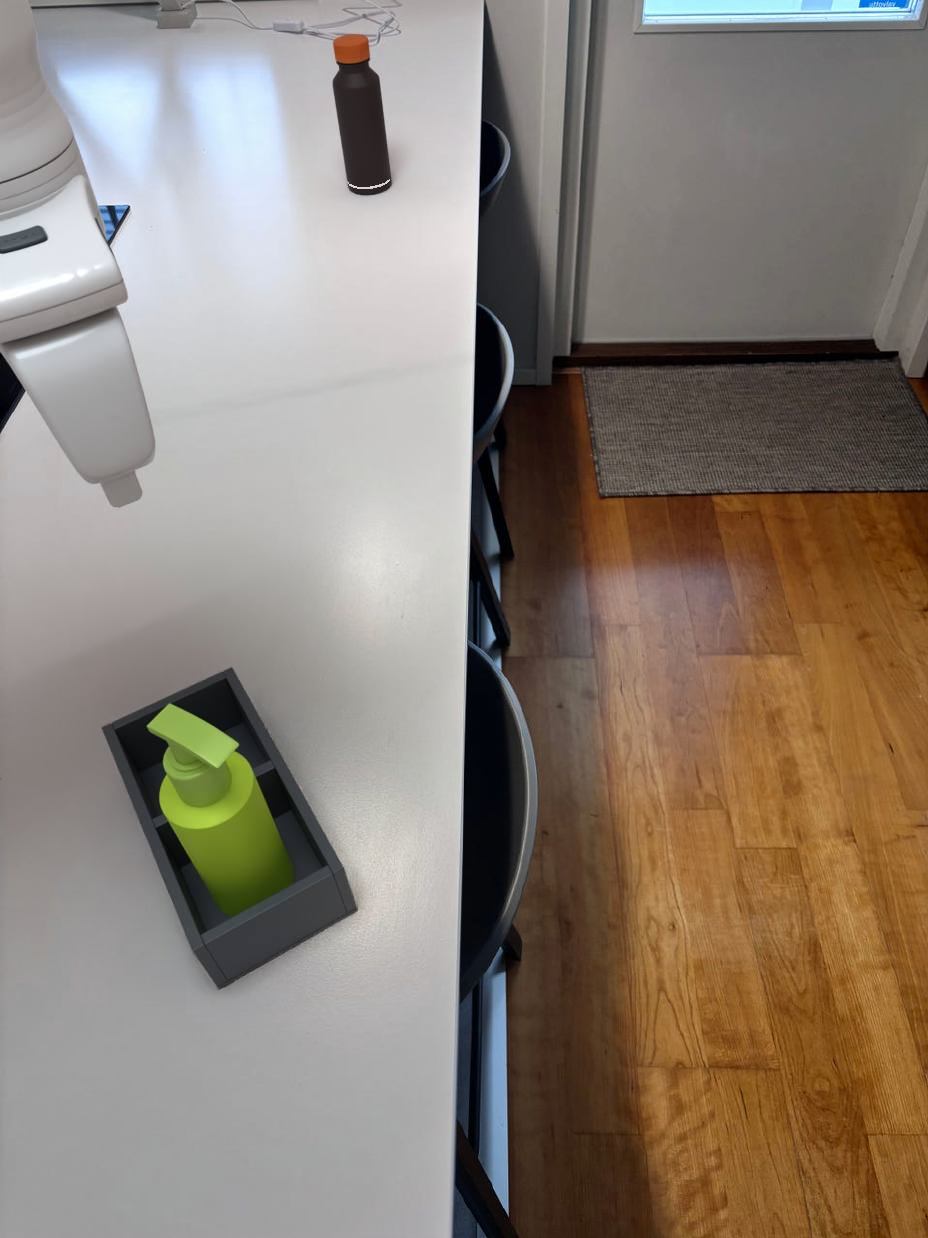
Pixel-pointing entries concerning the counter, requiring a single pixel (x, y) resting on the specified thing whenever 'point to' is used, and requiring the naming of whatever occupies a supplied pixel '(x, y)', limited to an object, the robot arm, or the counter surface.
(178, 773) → the soap dispenser
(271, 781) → the storage box
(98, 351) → the robot arm
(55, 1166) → the counter surface
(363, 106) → the bottle
